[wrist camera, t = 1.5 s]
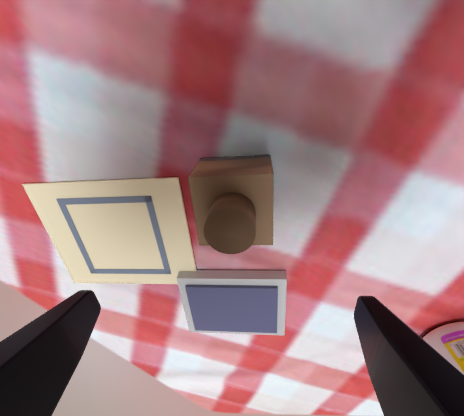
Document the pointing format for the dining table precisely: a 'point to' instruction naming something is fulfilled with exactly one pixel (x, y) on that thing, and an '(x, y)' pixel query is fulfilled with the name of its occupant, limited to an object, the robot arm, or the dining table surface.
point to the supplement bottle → (449, 343)
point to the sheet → (117, 229)
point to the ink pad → (234, 301)
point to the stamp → (233, 202)
